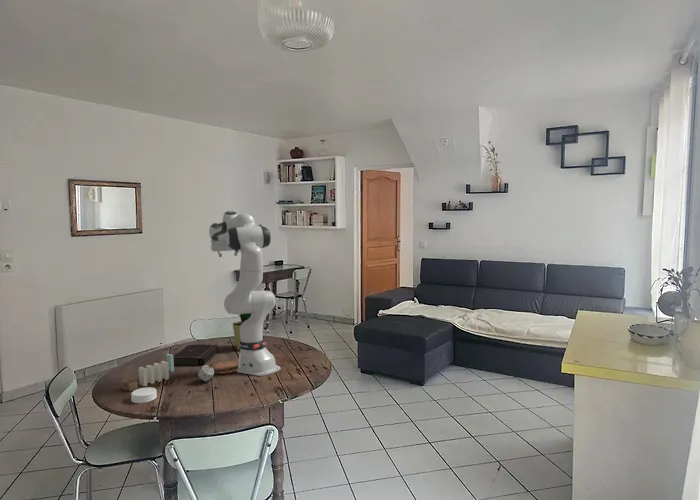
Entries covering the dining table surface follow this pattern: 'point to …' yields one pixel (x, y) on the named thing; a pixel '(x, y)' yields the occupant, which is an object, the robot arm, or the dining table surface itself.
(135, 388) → the block
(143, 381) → the domino
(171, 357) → the domino
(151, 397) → the coaster
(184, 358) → the diary
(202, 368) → the game die
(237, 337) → the potted cactus
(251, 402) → the dining table surface
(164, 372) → the domino
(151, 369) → the domino
